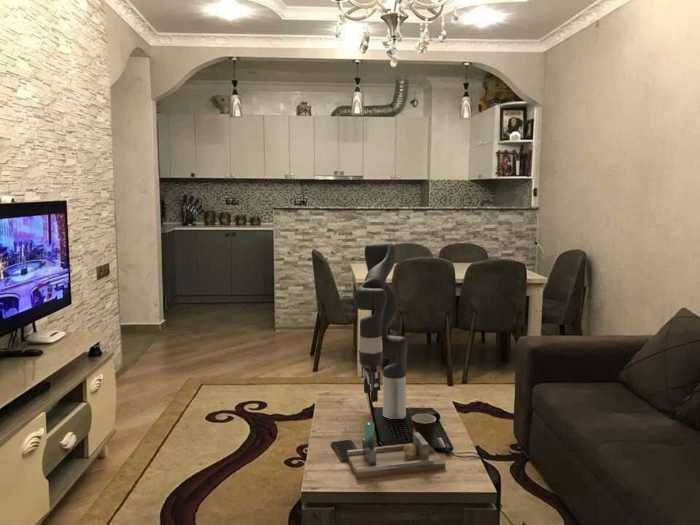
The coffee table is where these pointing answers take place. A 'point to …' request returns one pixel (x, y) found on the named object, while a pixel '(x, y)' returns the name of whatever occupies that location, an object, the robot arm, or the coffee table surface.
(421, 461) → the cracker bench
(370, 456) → the moving jaw
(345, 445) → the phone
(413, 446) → the nut
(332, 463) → the coffee table surface
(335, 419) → the coffee table surface
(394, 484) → the coffee table surface
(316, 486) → the coffee table surface
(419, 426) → the coffee mug
